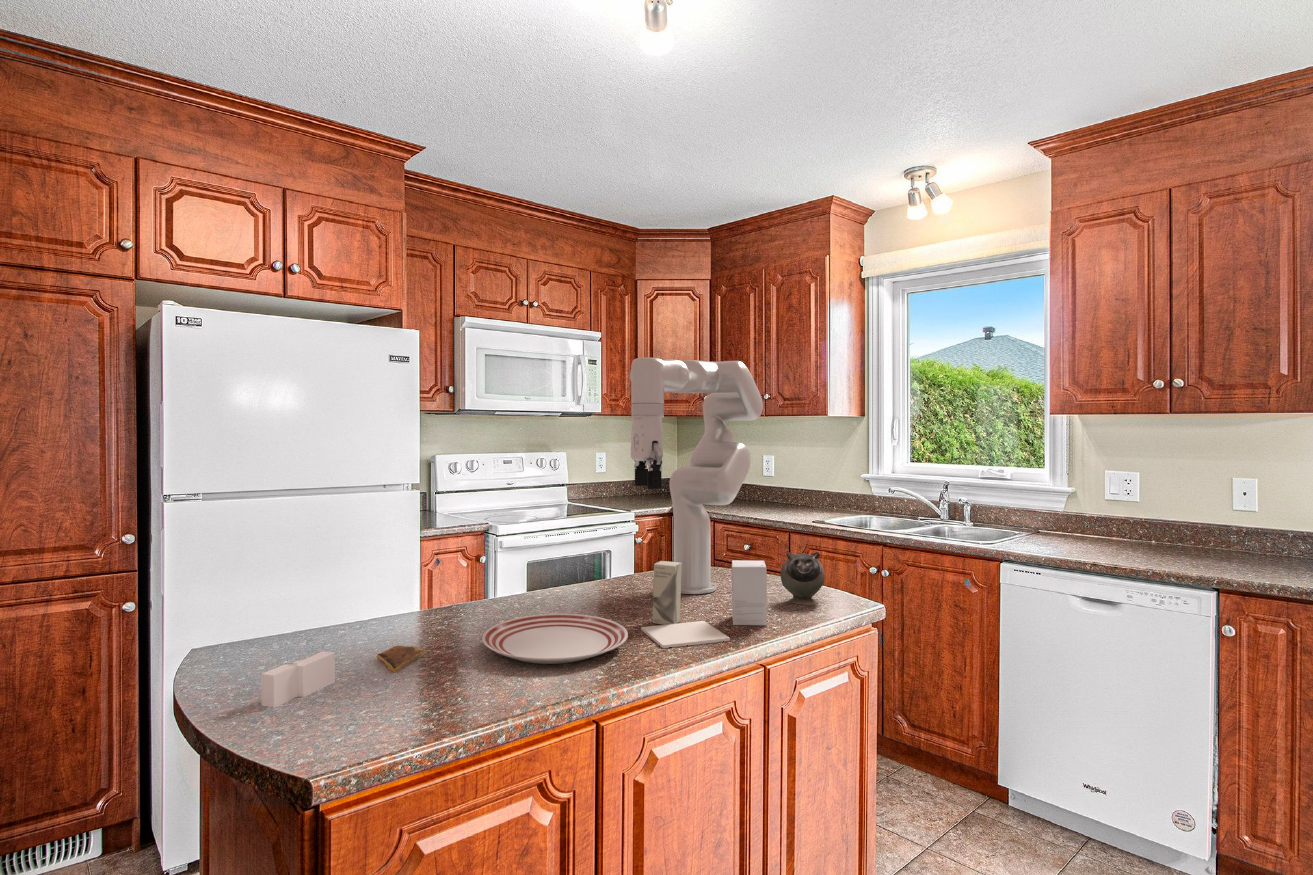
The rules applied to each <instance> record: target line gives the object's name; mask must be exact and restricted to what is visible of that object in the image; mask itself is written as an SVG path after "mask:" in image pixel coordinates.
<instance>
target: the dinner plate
mask: <svg viewBox="0 0 1313 875" xmlns="http://www.w3.org/2000/svg"><path fill="white" fill-rule="evenodd" d="M628 633H629V632H628V630H627V628H625V626H623V625H622V624H620V623H618V622H616V621H614V620H611V619H608V618H605V617H600V616H599V617H598V616H593V615H588V614H579V613H578V614H577V613H563V612H562V613H559V612H558V613H557V612H556V613H541V614H534V615H533V614H531V615H525V616H519V617H516V618H512V619H508V620H504V621H501V622H499V623H497V624H495V625H492V626H490V627H489V628H487V629H486V630H484V632H483V634H482V636H481V641H482V644H483V645H485V647H486V648H488V649H489V650H491V651H493V652H494V653H497V654H499V655H501V656H504V657H507V658H510V659H514V660H517V661H521V662H525V663H530V664H531V663H532V664H541V665H543V664H545V665H555V664H558V665H559V664H567V663H574V662H579V661H583V660H587V659H589V658H594V657H596V656H600V655H602V654H605V653H607V652H610V651H612V650H615V649H618V647H620V646H622V645H623V644H624V643H626V641H627V640H628V638H629V634H628Z"/></svg>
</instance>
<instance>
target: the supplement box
mask: <svg viewBox="0 0 1313 875" xmlns="http://www.w3.org/2000/svg"><path fill="white" fill-rule="evenodd" d="M767 578H768V574H767V565H766V562H765V560H744V559H743V560H737V559H736V560H734V559H733V560H731V615H732V616H731V617H732V626H767V625H768V617H767V614H768V613H767V612H768V611H767V610H768V609H767V608H768V607H767V606H768V604H767V601H768V599H767V597H768V594H767V593H768V590H767V588H768V587H767V584H768V581H767Z"/></svg>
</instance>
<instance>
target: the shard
mask: <svg viewBox="0 0 1313 875" xmlns="http://www.w3.org/2000/svg"><path fill="white" fill-rule="evenodd" d="M424 655H426V650H425V649H423V648H420V647H419V646H418V647H417V646H409V645H393V646H392V647H389V648H388V649H386V650H384V651H381V652H380V653H377V655H376V658H377V659H378V660H379V661H381V662H383V663H384V664H385V666H386V667H387V669H388V670H389V671H391V672H393V673H395V674H397V673H398V672H400V671H401V670H402V669H404V668H405V667H406V666H408V665H409V664H410V663H411V664H412V662H414V661H416V660H417V659H419V658H421V657H423V656H424Z"/></svg>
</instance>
